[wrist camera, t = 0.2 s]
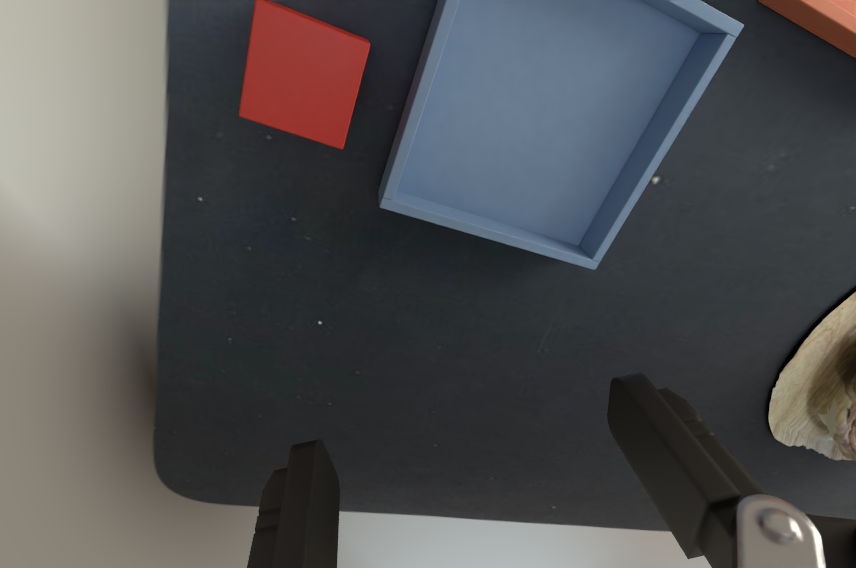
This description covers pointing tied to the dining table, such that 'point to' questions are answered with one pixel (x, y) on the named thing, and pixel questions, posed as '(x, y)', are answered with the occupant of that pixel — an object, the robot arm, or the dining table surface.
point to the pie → (820, 389)
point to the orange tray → (822, 19)
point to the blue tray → (548, 116)
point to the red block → (301, 74)
